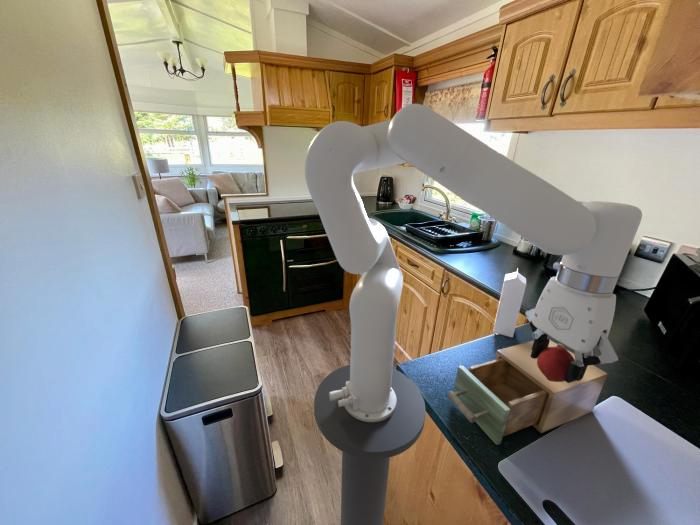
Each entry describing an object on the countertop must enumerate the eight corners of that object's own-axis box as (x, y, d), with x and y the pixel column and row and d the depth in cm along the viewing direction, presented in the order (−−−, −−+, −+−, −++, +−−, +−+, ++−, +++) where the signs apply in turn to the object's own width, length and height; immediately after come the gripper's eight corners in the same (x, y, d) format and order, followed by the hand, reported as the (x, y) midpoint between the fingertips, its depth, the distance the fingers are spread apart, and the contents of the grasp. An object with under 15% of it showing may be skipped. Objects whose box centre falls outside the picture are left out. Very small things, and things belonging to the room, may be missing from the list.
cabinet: (541, 433, 61) (554, 393, 57) (488, 385, 73) (496, 350, 69) (592, 411, 66) (608, 373, 63) (535, 370, 79) (545, 337, 75)
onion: (560, 372, 57) (573, 338, 54) (575, 394, 51) (590, 357, 49) (528, 367, 58) (539, 333, 55) (539, 388, 52) (551, 351, 50)
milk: (492, 332, 96) (506, 271, 89) (494, 324, 101) (506, 265, 94) (513, 338, 93) (528, 275, 86) (513, 329, 98) (528, 268, 91)
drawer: (477, 453, 55) (486, 418, 52) (435, 402, 67) (440, 370, 64) (551, 422, 62) (562, 390, 59) (501, 380, 74) (509, 351, 71)
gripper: (522, 262, 54) (501, 344, 60) (634, 306, 38) (590, 409, 45) (551, 259, 56) (527, 338, 62) (666, 299, 41) (620, 397, 47)
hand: (553, 367), depth 53 cm, fingers closed on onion, 5 cm apart
